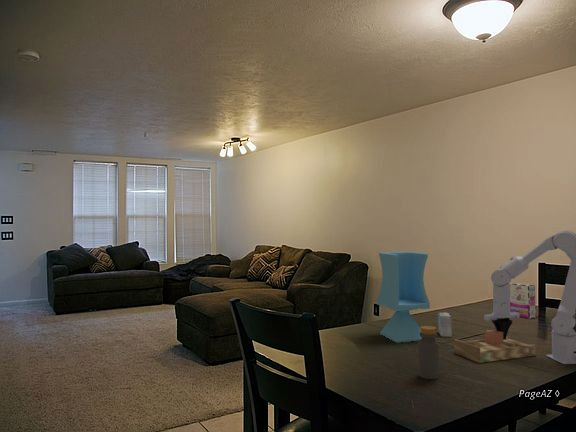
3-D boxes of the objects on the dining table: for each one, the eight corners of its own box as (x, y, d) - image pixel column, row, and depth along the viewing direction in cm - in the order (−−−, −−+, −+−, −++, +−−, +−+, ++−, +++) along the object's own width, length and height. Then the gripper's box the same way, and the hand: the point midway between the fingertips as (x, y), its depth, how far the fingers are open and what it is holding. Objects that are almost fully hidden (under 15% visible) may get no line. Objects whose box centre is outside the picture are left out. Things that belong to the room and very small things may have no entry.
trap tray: (507, 346, 170) (507, 333, 170) (535, 355, 158) (534, 341, 158) (454, 353, 162) (454, 339, 162) (479, 362, 150) (478, 347, 150)
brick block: (494, 340, 167) (494, 329, 167) (503, 343, 163) (503, 332, 163) (485, 342, 165) (485, 330, 165) (494, 344, 161) (493, 333, 161)
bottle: (423, 371, 142) (422, 324, 142) (441, 375, 138) (440, 327, 138) (416, 376, 137) (415, 327, 138) (434, 380, 134) (433, 330, 134)
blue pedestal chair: (395, 343, 175) (393, 254, 176) (377, 334, 190) (375, 252, 191) (430, 340, 180) (428, 253, 180) (409, 331, 195) (408, 251, 195)
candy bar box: (536, 318, 219) (535, 284, 220) (529, 319, 217) (528, 285, 218) (516, 314, 229) (515, 282, 230) (509, 315, 227) (508, 282, 228)
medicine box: (451, 337, 185) (451, 316, 185) (440, 336, 186) (440, 315, 186) (448, 332, 193) (448, 312, 193) (438, 332, 194) (437, 312, 194)
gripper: (508, 299, 171) (509, 334, 171) (477, 301, 167) (478, 338, 167) (523, 302, 165) (524, 339, 164) (491, 304, 160) (492, 342, 160)
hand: (502, 338), depth 165 cm, fingers closed
